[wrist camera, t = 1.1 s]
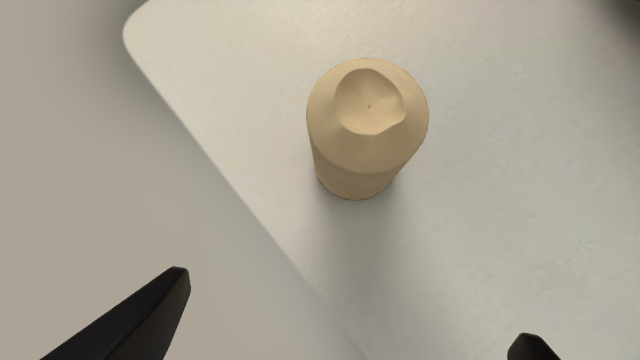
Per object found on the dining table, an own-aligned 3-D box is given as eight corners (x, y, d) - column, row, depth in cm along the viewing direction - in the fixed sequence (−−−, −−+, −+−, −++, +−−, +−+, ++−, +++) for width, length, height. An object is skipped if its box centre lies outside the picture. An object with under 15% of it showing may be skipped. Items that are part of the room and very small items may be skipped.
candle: (410, 154, 24) (466, 87, 14) (362, 217, 23) (386, 193, 13) (346, 109, 25) (357, 15, 15) (298, 168, 24) (276, 111, 14)
